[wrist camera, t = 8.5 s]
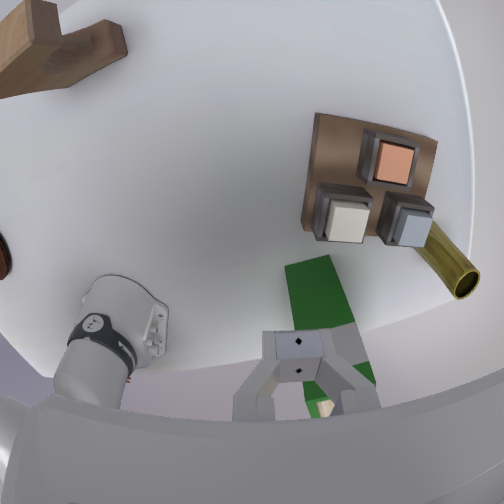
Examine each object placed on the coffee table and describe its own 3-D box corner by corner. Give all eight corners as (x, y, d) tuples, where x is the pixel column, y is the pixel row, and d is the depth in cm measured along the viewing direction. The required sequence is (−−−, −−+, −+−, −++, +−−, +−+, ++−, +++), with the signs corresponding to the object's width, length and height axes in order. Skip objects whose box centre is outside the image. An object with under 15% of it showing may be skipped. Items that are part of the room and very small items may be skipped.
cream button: (353, 230, 36) (361, 242, 33) (322, 228, 36) (328, 240, 33) (360, 200, 34) (369, 210, 31) (328, 196, 34) (335, 206, 31)
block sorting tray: (404, 230, 42) (423, 252, 36) (300, 221, 41) (309, 245, 35) (427, 137, 34) (454, 148, 28) (315, 112, 33) (329, 117, 27)
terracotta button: (395, 176, 33) (406, 184, 30) (367, 171, 33) (376, 179, 30) (402, 144, 31) (414, 150, 28) (372, 138, 31) (383, 143, 28)
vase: (411, 254, 45) (449, 308, 33) (407, 226, 42) (452, 277, 30) (438, 242, 43) (480, 291, 31) (436, 214, 40) (484, 260, 28)
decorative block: (121, 23, 25) (28, -7, 8) (129, 56, 28) (32, 43, 11) (60, 58, 26) (-41, 65, 9) (66, 88, 29) (-36, 110, 12)
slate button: (413, 235, 36) (423, 247, 34) (389, 233, 36) (398, 245, 34) (421, 208, 34) (433, 218, 31) (397, 204, 34) (407, 215, 31)
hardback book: (339, 325, 53) (369, 434, 33) (304, 334, 55) (322, 446, 34) (328, 254, 44) (376, 383, 24) (284, 266, 46) (305, 401, 25)
